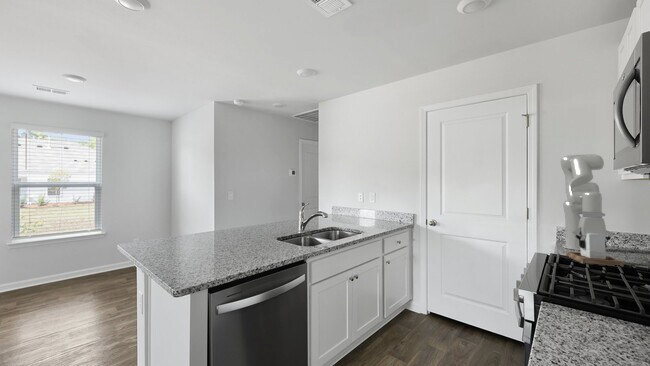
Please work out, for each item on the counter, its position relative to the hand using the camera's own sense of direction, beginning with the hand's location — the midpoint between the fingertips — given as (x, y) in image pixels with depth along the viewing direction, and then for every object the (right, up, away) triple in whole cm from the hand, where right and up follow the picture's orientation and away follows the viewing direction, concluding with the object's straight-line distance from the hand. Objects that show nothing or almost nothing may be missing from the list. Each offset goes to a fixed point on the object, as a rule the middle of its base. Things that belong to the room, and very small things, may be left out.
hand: (592, 248), depth 150 cm
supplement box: (0, -5, 0) cm, 5 cm away
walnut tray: (0, -7, 0) cm, 7 cm away
